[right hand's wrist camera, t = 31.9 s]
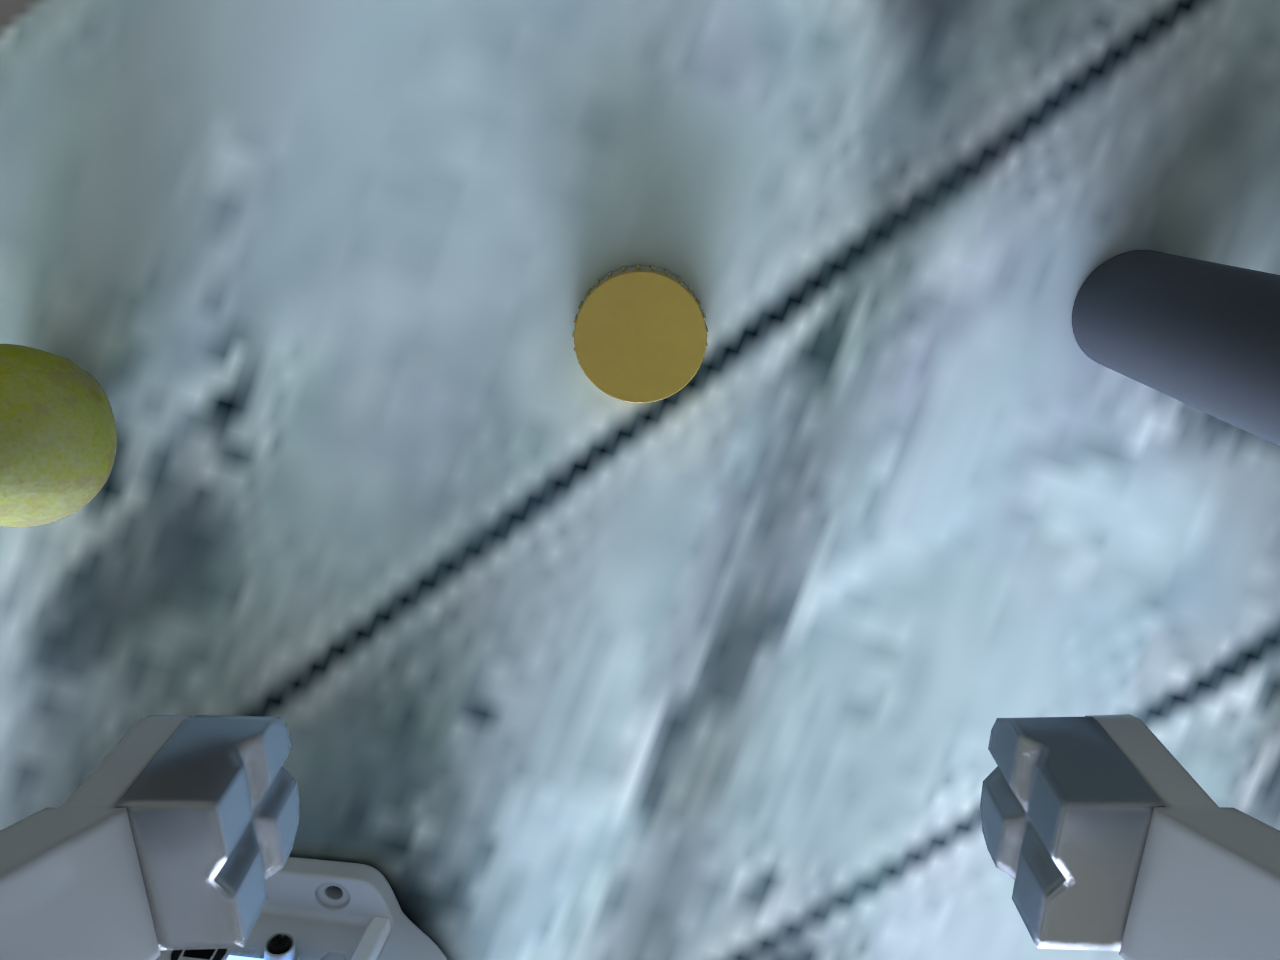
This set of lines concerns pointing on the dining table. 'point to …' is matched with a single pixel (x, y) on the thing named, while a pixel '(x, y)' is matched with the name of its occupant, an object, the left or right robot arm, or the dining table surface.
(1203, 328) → the jar
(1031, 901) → the right robot arm
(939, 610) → the dining table surface
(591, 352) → the lid
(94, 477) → the fruit
